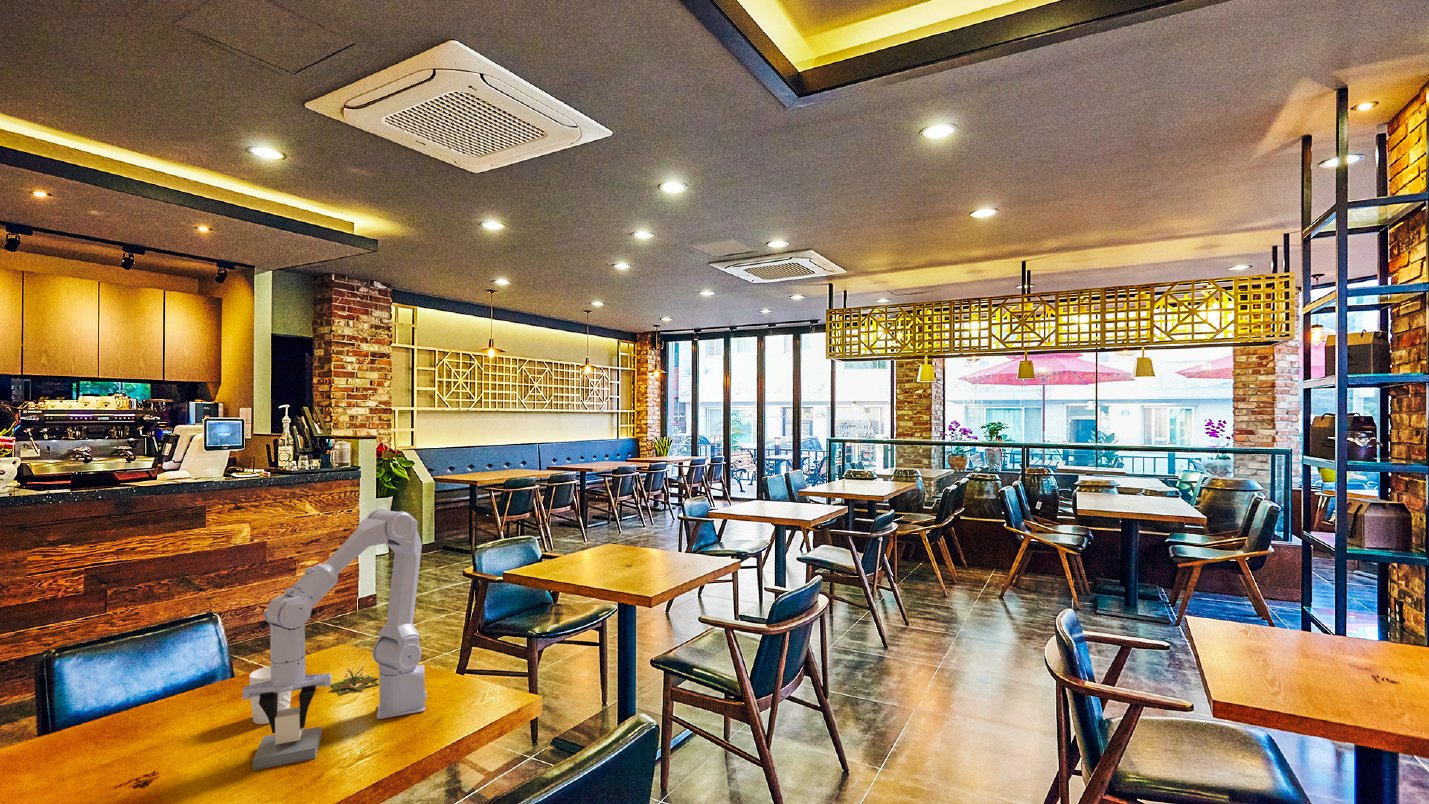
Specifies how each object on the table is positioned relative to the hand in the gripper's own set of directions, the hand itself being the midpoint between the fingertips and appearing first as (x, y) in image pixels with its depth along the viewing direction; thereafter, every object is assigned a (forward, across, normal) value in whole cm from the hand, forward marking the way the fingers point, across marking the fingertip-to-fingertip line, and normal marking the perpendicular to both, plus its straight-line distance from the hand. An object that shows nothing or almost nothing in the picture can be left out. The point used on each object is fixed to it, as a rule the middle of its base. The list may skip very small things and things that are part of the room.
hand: (288, 728), depth 133 cm
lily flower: (+5, +9, +32) cm, 34 cm away
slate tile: (+5, 0, 0) cm, 5 cm away
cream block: (+2, 0, 0) cm, 2 cm away
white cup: (+5, -6, +20) cm, 21 cm away
